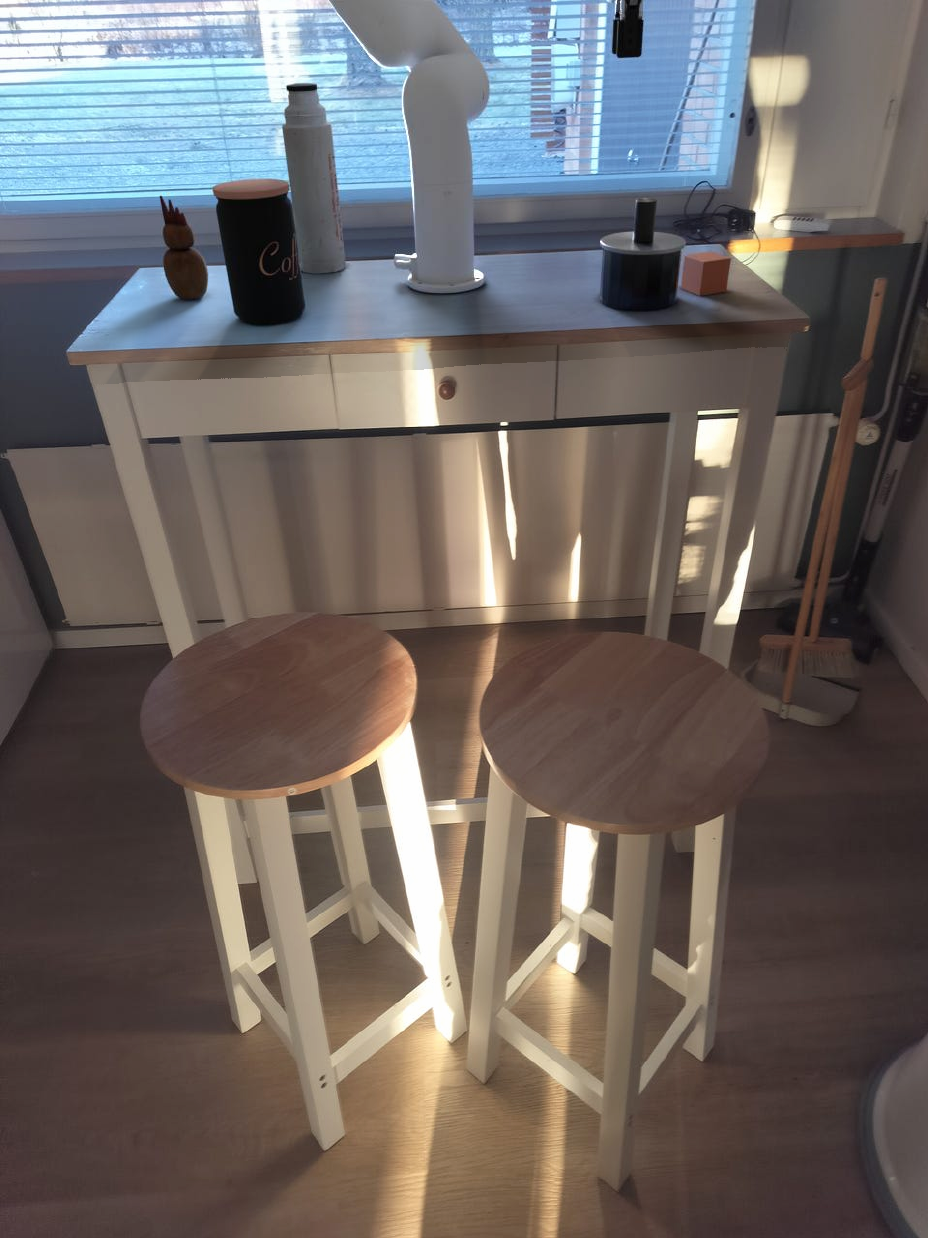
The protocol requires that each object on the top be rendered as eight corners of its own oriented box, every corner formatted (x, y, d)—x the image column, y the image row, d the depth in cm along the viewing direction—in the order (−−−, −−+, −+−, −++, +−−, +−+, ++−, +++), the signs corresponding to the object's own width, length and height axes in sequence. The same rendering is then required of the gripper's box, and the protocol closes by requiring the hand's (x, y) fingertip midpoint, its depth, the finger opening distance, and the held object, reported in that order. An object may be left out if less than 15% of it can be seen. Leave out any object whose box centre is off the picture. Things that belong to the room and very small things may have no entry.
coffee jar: (273, 330, 126) (252, 194, 115) (220, 320, 130) (195, 188, 120) (320, 311, 133) (305, 181, 122) (268, 302, 138) (249, 176, 127)
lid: (592, 256, 126) (595, 206, 122) (608, 237, 136) (611, 190, 132) (678, 261, 123) (684, 209, 119) (689, 241, 132) (695, 193, 128)
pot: (593, 308, 131) (596, 252, 126) (608, 287, 139) (611, 234, 135) (669, 313, 127) (676, 256, 123) (680, 292, 136) (686, 237, 132)
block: (699, 295, 134) (703, 261, 131) (680, 288, 138) (684, 254, 135) (726, 291, 136) (731, 257, 133) (706, 283, 140) (711, 250, 137)
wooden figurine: (164, 297, 141) (141, 196, 133) (194, 289, 145) (174, 190, 136) (187, 304, 138) (165, 201, 129) (218, 296, 141) (199, 195, 132)
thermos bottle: (351, 262, 157) (333, 80, 141) (337, 274, 151) (317, 85, 134) (309, 261, 158) (287, 81, 142) (294, 272, 152) (268, 85, 136)
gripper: (600, -101, 115) (594, 53, 125) (608, -115, 101) (601, 60, 111) (658, -105, 114) (647, 50, 124) (673, -120, 100) (661, 57, 110)
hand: (625, 55), depth 117 cm, fingers open, 9 cm apart
